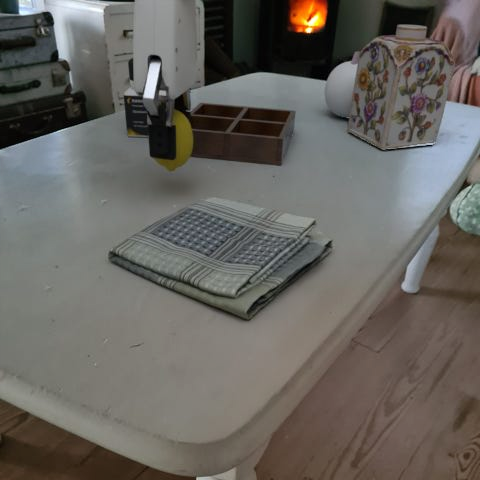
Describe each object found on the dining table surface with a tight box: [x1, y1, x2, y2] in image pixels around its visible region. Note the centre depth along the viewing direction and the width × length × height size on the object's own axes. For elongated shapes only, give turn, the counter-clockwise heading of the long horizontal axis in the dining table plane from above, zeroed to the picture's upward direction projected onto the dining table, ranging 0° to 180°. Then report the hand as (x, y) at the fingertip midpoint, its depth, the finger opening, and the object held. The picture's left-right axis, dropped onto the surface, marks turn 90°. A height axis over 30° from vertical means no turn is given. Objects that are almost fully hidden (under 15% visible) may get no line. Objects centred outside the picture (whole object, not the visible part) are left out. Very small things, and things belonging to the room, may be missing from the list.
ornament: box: [324, 51, 361, 118], centre depth 101 cm, size 10×10×12 cm
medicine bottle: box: [123, 57, 167, 138], centre depth 88 cm, size 7×7×12 cm
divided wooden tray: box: [190, 102, 296, 166], centre depth 87 cm, size 17×17×4 cm
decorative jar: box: [347, 24, 456, 149], centre depth 88 cm, size 12×12×18 cm
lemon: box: [147, 108, 193, 173], centre depth 64 cm, size 6×6×8 cm
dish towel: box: [107, 195, 334, 320], centre depth 55 cm, size 19×18×3 cm
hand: (170, 148), depth 65 cm, fingers closed on lemon, 5 cm apart
